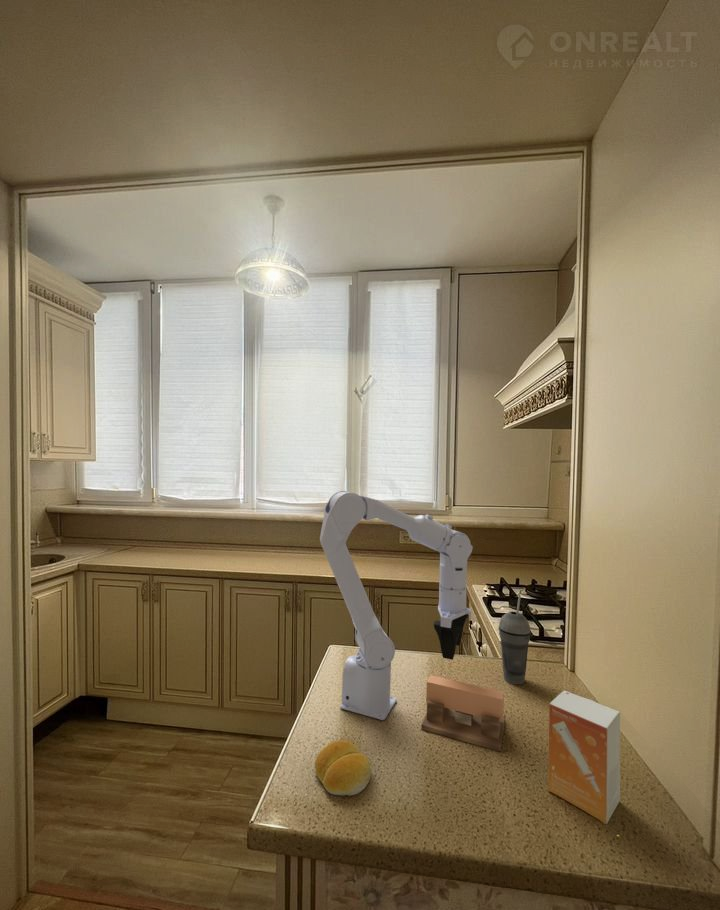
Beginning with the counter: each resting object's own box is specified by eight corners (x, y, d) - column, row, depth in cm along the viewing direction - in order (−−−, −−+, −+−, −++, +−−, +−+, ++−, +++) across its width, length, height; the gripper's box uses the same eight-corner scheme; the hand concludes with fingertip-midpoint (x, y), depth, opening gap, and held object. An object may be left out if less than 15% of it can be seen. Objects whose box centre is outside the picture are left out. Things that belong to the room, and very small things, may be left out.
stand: (421, 729, 75) (421, 707, 75) (433, 702, 84) (433, 682, 84) (500, 751, 69) (501, 727, 69) (504, 720, 78) (504, 699, 79)
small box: (547, 791, 61) (547, 702, 61) (563, 771, 65) (563, 688, 66) (607, 826, 55) (607, 727, 55) (621, 802, 59) (621, 710, 60)
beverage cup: (506, 669, 100) (507, 587, 101) (536, 681, 94) (536, 594, 95) (491, 678, 95) (493, 592, 96) (521, 691, 89) (522, 600, 90)
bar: (426, 703, 78) (426, 681, 78) (429, 695, 81) (430, 675, 81) (502, 722, 73) (502, 699, 73) (503, 713, 75) (503, 691, 76)
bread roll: (335, 808, 57) (336, 778, 57) (307, 768, 64) (308, 742, 64) (382, 785, 61) (383, 758, 61) (352, 750, 69) (352, 726, 69)
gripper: (466, 598, 79) (465, 669, 78) (476, 581, 92) (475, 642, 91) (431, 592, 81) (429, 661, 81) (445, 577, 95) (444, 636, 94)
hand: (451, 651), depth 86 cm, fingers open, 7 cm apart
